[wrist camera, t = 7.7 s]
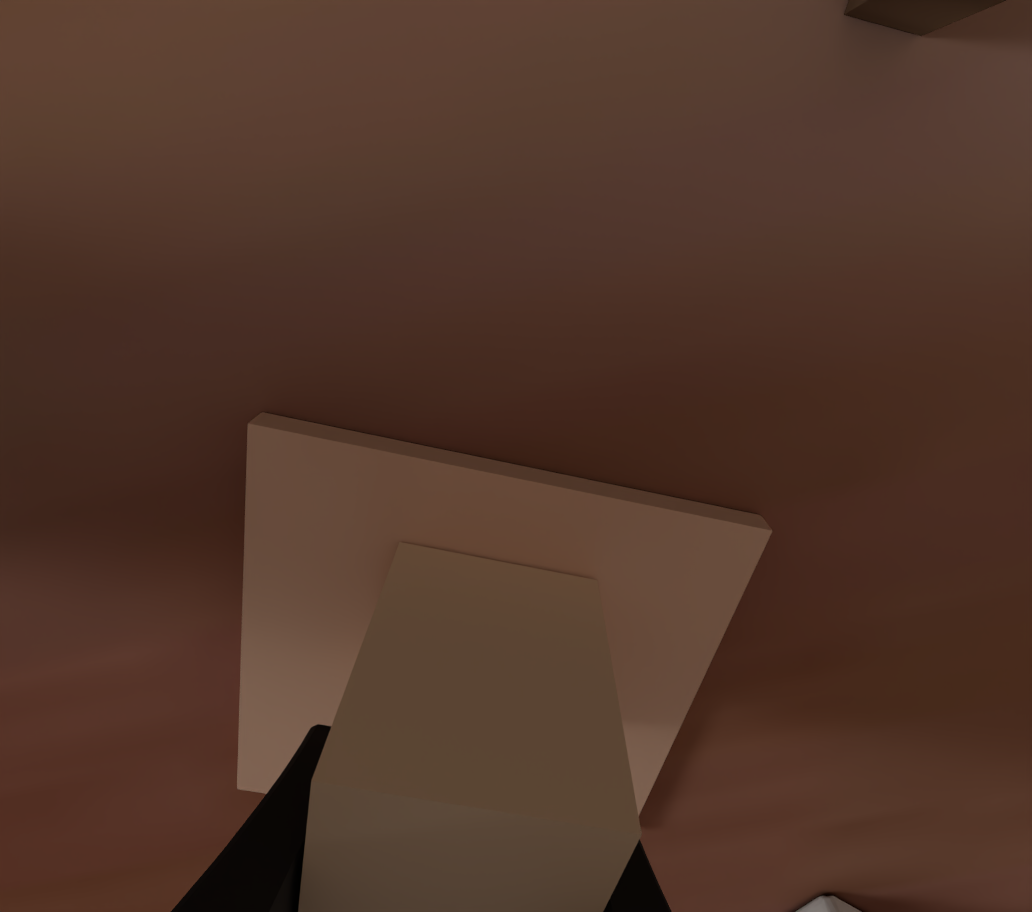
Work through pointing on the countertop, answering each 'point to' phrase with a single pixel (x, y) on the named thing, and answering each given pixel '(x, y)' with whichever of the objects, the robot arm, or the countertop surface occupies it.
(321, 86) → the countertop surface
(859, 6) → the shelf bay
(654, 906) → the robot arm
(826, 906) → the ink box
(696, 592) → the plate
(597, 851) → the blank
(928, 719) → the countertop surface
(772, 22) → the countertop surface
